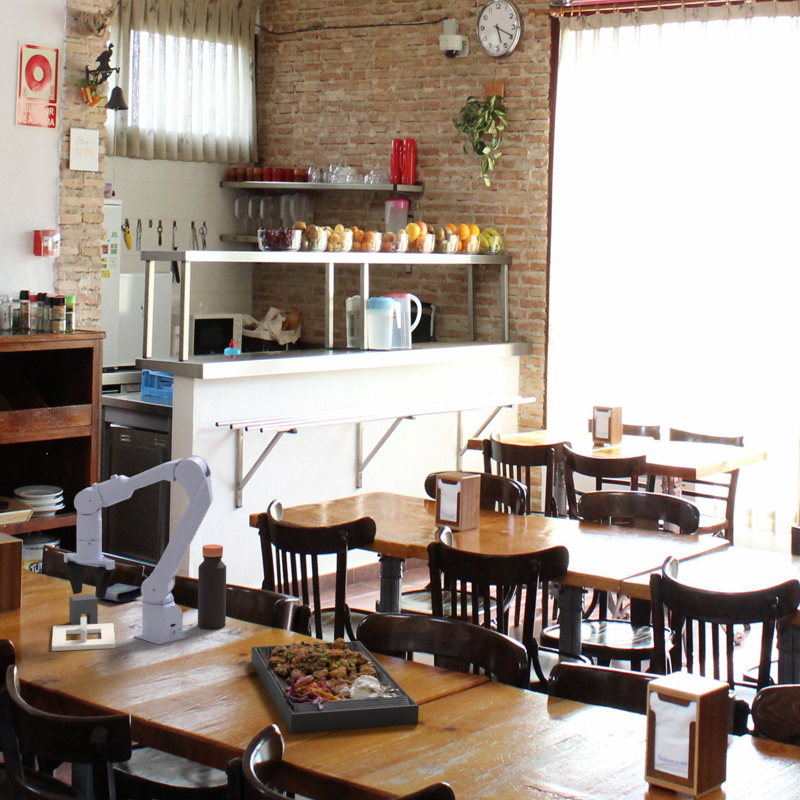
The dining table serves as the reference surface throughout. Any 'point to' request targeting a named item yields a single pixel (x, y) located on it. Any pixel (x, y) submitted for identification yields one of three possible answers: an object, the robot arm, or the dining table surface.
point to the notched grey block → (83, 609)
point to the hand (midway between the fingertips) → (89, 595)
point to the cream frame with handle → (83, 636)
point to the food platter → (331, 687)
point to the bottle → (212, 589)
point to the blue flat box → (122, 593)
